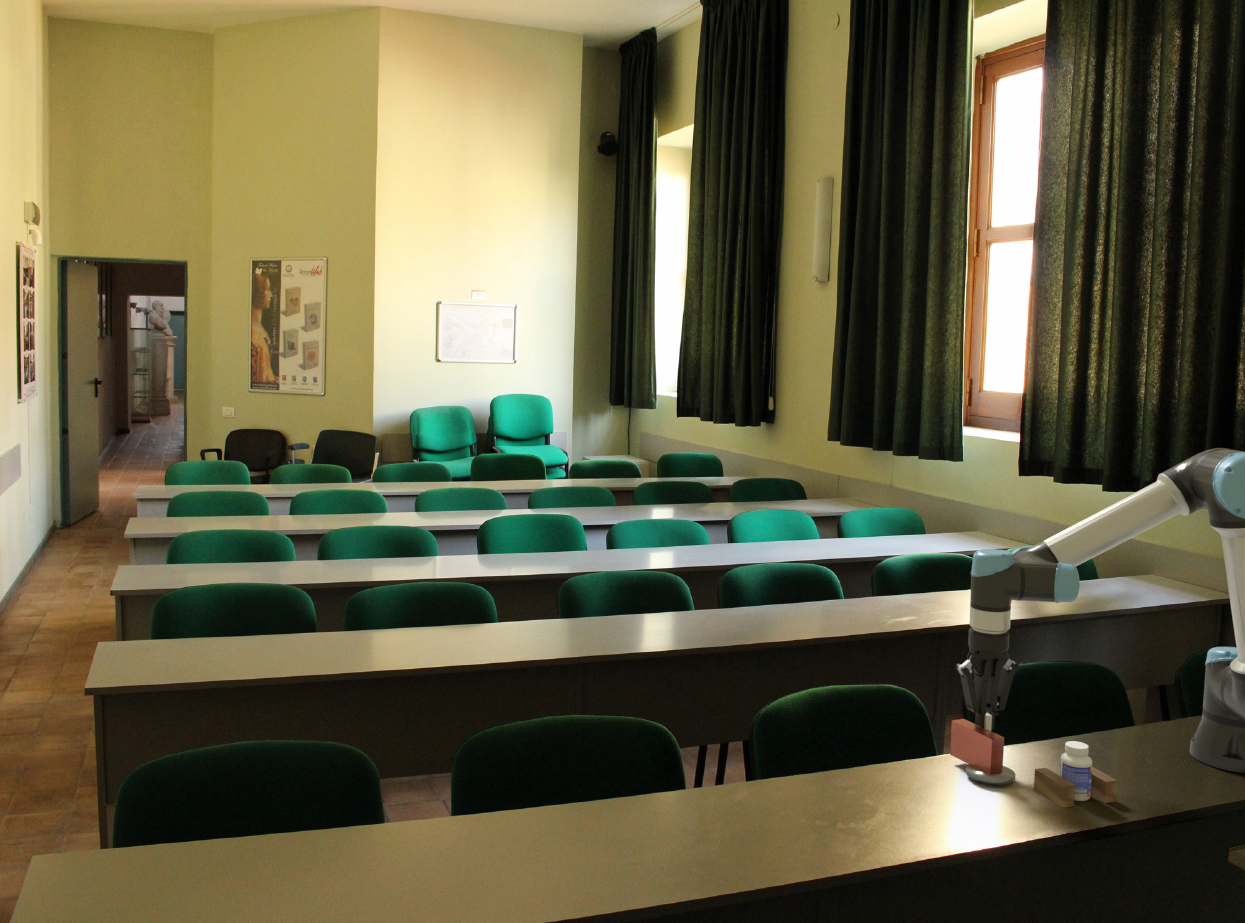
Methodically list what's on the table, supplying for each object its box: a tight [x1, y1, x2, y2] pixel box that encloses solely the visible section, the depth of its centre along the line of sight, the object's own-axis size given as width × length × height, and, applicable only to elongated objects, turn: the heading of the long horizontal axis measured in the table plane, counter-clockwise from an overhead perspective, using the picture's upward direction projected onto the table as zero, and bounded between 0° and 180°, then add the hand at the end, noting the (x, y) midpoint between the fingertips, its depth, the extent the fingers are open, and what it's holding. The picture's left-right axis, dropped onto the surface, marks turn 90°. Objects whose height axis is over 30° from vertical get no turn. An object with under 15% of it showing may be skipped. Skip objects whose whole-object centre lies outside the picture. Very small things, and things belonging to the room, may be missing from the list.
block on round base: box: [949, 718, 1016, 786], centre depth 199 cm, size 9×14×8 cm, turn 24°
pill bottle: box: [1059, 740, 1093, 802], centre depth 190 cm, size 5×5×10 cm
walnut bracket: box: [1033, 766, 1118, 808], centre depth 190 cm, size 12×8×4 cm
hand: (983, 744), depth 204 cm, fingers closed
